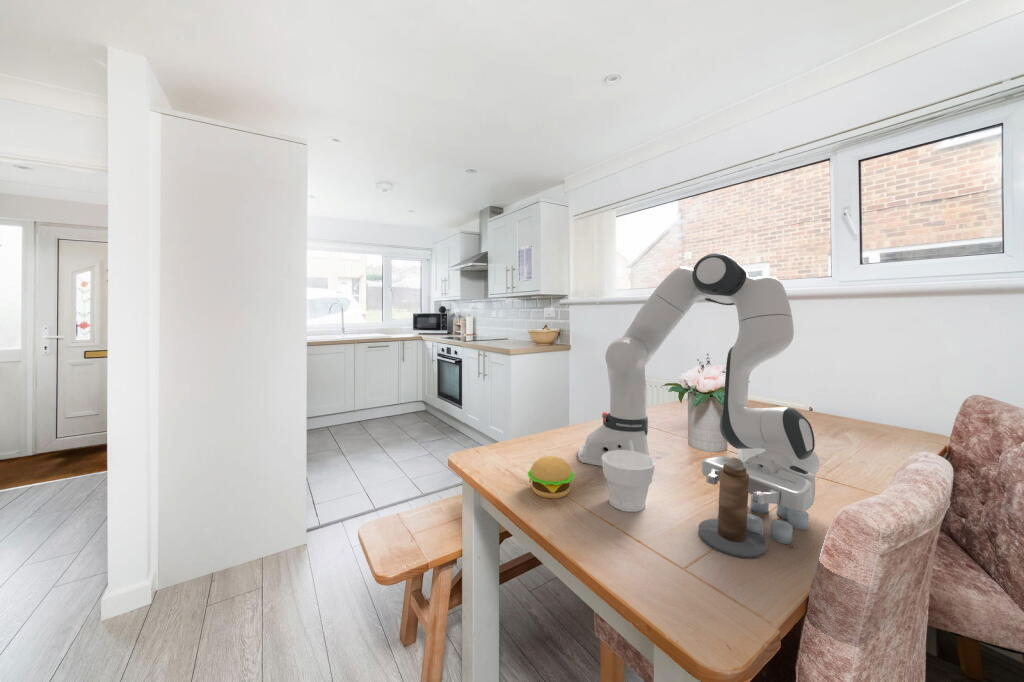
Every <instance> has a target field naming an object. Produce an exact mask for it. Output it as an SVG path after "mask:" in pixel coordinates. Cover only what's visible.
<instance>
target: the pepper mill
mask: <svg viewBox="0 0 1024 682" xmlns="http://www.w3.org/2000/svg"><path fill="white" fill-rule="evenodd" d="M729 458H730V459H728V460H727V462H726V464H724V465H723V468H722V469H721V470H720V482H719V492H718V493H719V494H718V513H717V514H718V515H717V517H718V518H717V519H718V534H719V535H720V536H721V537H723V538H724V539H726V540H729V541H732V542H744V541H745V540H746V528H747V508H748V507H749V493H748V488H749V474H748V473H746V468H745V467H744V465H743V463H742V461H741V460H740V459H738V457H729Z"/></svg>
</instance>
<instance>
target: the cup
mask: <svg viewBox="0 0 1024 682" xmlns="http://www.w3.org/2000/svg"><path fill="white" fill-rule="evenodd" d="M601 458H602V466H601V467H602V473H603V476H604V477H605V480H606V481H607V482H606V483H607V486H608V491H609V492H608V493H609V497H608V502H609V504H610V505H611V506H612V507H614V508H615V509H617V510H619V511H622V512H627V513H638V512H641V511H643V510H644V509H645V508H646V500H647V495H648V492H649V487H650V485H651V484H652V482H653V478H654V477H653V476H654V472H655V471H654V470H655V467H656V461H655V460H654V459H653V457H651V456H650V457H649V456H647V455H645V454H642V453H639V452H635V451H628V450H614V451H609V452H606V453H604V454H603V455H602V457H601Z"/></svg>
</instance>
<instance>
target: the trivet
mask: <svg viewBox="0 0 1024 682" xmlns="http://www.w3.org/2000/svg"><path fill="white" fill-rule="evenodd" d="M697 527H698V536H699V538H700V539H701V541H703V543H705V544H706V545H707V546H708V547H710V548H712V549H713V550H715V551H717V552H720V553H721V554H724V555H727V556H731V557H735V558H739V559H758V558H762V557H763V556H764V555H765V554H767V551H768V550H767V549H768V546H767V545H768V544H767V541H766V539H765V538H764V536H763V535H762V536H761V535H760V534H759V533H756V532H751V531H748V530H746V540H745V541H744V542H732V541H729V540H726V539H724V538H723V537H721V536H720V535H719V534H718V518H709V519H705V520H703V521H701V522H700V523H699V524H698V526H697Z"/></svg>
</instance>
